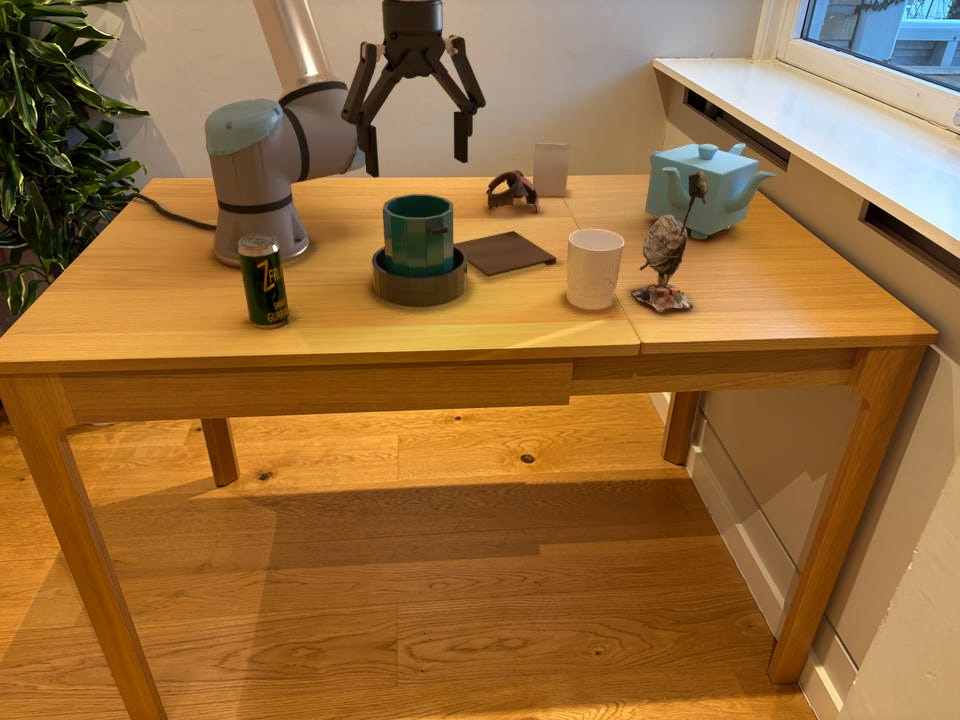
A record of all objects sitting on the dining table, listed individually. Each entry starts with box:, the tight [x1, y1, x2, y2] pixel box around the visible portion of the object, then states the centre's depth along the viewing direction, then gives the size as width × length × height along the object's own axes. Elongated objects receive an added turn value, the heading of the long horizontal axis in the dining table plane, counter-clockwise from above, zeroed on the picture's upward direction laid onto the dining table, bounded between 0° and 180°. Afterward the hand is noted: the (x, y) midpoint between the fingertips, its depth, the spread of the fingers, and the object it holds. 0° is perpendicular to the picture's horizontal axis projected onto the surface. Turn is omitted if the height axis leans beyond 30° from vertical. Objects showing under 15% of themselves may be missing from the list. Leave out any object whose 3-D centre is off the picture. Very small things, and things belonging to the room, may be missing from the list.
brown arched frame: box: [485, 169, 541, 214], centre depth 139 cm, size 12×10×8 cm
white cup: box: [566, 228, 625, 310], centre depth 105 cm, size 8×8×10 cm
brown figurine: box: [630, 171, 708, 313], centre depth 104 cm, size 8×11×20 cm
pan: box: [371, 245, 469, 308], centre depth 109 cm, size 14×14×5 cm
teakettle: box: [644, 142, 778, 240], centre depth 130 cm, size 19×19×15 cm
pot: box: [382, 193, 455, 278], centre depth 107 cm, size 13×10×12 cm
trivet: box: [454, 230, 557, 278], centre depth 120 cm, size 13×13×1 cm
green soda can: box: [238, 234, 290, 330], centre depth 98 cm, size 5×5×12 cm
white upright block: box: [532, 142, 570, 198], centre depth 145 cm, size 4×7×10 cm, turn 86°
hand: (418, 167), depth 100 cm, fingers open, 13 cm apart
